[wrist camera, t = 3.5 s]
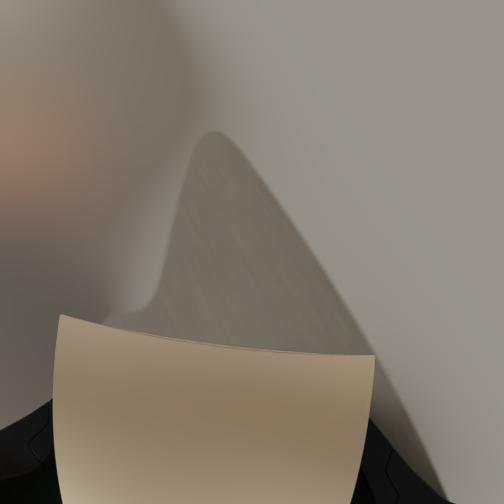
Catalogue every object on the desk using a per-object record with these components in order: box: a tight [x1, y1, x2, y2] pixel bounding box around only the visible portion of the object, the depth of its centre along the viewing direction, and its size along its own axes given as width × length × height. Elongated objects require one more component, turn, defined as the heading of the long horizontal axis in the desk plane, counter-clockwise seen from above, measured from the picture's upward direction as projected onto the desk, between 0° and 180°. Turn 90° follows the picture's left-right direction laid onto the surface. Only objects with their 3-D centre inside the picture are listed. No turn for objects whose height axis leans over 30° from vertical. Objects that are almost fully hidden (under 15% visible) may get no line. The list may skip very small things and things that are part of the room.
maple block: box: [53, 315, 375, 504], centre depth 8 cm, size 4×4×12 cm
